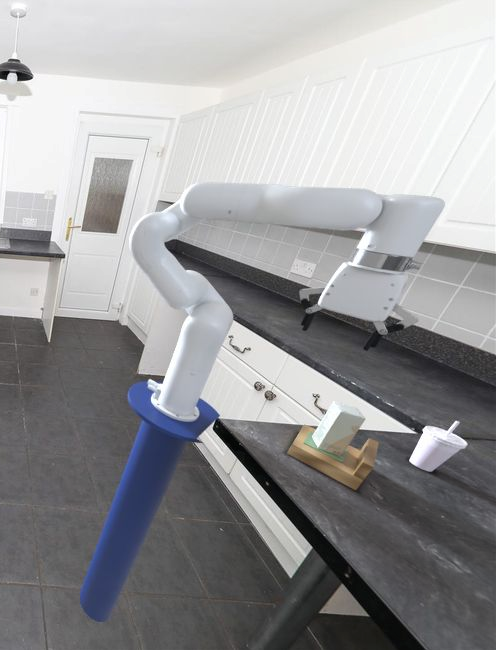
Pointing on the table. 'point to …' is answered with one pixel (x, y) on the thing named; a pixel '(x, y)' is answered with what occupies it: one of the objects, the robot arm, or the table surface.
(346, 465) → the wooden sharpening stone holder
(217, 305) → the robot arm
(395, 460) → the table surface
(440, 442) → the smoothie
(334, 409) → the box
